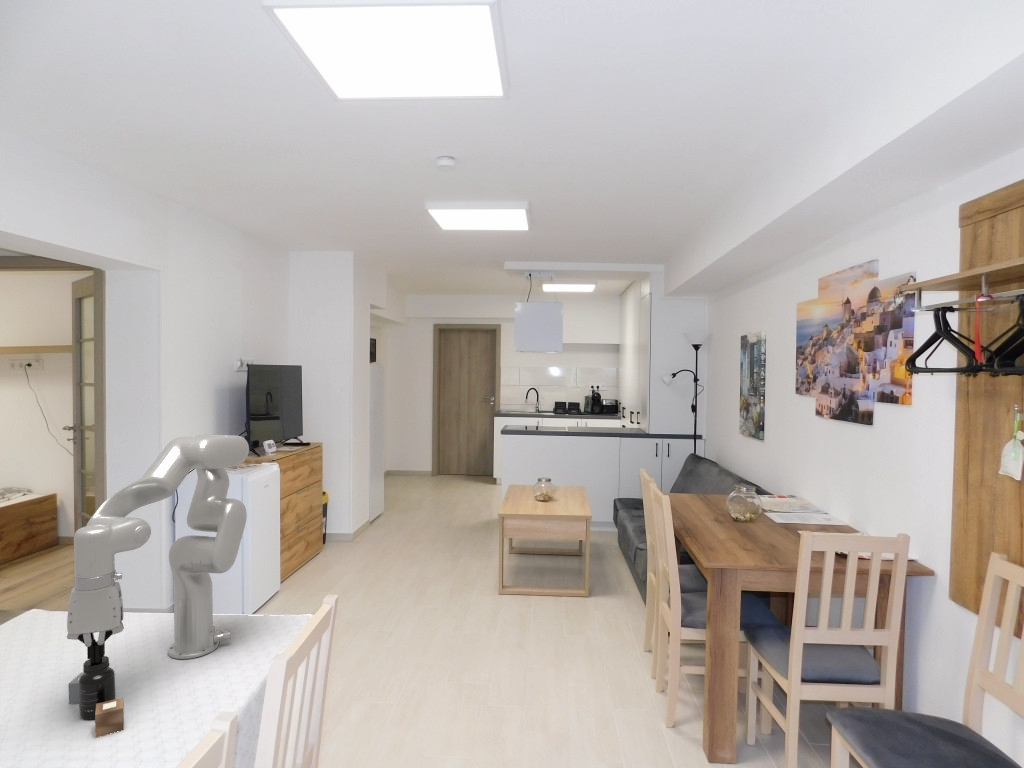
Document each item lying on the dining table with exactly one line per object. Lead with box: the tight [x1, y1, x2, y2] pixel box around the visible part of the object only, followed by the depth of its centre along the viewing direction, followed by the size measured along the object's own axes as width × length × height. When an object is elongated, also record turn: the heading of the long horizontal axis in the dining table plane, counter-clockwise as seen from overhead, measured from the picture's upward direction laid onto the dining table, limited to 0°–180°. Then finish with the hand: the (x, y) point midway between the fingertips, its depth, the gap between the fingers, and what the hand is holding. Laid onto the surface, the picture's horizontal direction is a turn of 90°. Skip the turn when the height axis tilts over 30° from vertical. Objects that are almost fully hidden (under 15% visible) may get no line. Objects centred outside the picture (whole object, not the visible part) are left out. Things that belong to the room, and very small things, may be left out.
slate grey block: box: [67, 672, 84, 705], centre depth 144 cm, size 5×5×5 cm
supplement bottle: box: [78, 655, 117, 721], centre depth 138 cm, size 7×7×12 cm
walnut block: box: [94, 697, 125, 738], centre depth 132 cm, size 5×5×5 cm
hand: (96, 660), depth 137 cm, fingers closed
